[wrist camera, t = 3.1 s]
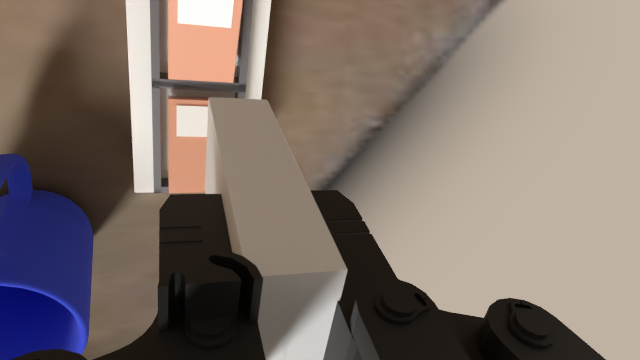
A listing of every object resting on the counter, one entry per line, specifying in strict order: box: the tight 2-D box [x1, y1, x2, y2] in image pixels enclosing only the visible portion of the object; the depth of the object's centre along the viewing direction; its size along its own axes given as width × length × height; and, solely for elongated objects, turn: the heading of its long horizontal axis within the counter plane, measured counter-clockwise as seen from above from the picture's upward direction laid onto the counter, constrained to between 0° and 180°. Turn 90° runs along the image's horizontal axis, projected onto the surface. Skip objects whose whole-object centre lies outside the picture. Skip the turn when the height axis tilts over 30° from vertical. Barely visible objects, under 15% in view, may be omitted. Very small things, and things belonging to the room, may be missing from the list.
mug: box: [0, 154, 93, 360], centre depth 27 cm, size 8×12×10 cm
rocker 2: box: [168, 96, 209, 193], centre depth 26 cm, size 5×3×2 cm, turn 170°
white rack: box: [126, 0, 271, 193], centre depth 25 cm, size 21×7×6 cm, turn 171°
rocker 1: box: [168, 0, 243, 83], centre depth 23 cm, size 5×3×2 cm, turn 172°
